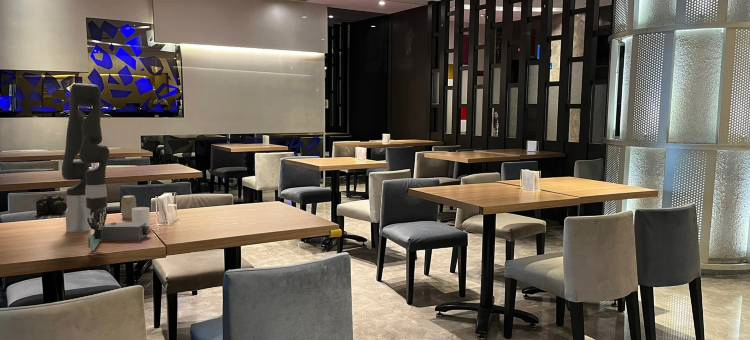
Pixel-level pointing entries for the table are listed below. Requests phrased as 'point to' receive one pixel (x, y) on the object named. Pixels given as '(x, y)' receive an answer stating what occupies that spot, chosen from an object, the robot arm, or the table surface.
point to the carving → (127, 206)
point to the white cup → (140, 215)
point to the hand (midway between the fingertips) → (98, 238)
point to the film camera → (50, 205)
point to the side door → (93, 241)
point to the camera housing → (124, 231)
